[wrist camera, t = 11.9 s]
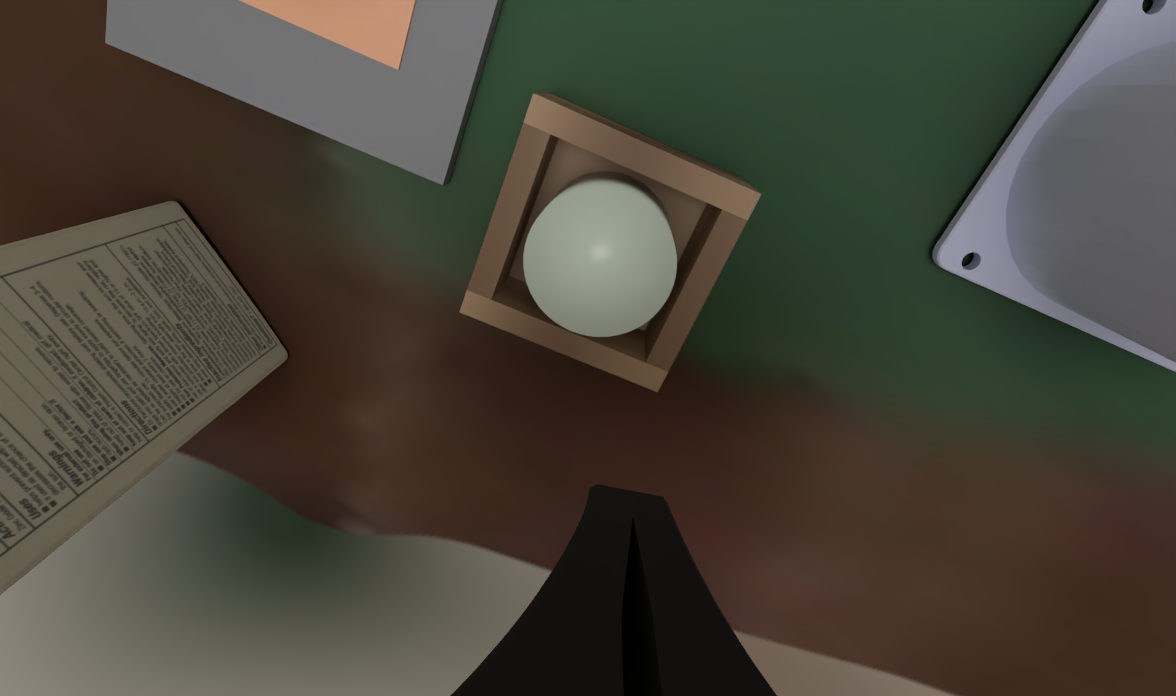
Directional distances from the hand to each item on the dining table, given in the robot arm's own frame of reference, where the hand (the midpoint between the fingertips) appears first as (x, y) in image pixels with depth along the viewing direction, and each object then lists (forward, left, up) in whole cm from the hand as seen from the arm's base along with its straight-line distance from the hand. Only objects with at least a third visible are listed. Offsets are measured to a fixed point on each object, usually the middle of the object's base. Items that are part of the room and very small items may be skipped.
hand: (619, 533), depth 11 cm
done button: (+2, -3, -9) cm, 9 cm away
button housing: (+2, -3, -9) cm, 10 cm away
